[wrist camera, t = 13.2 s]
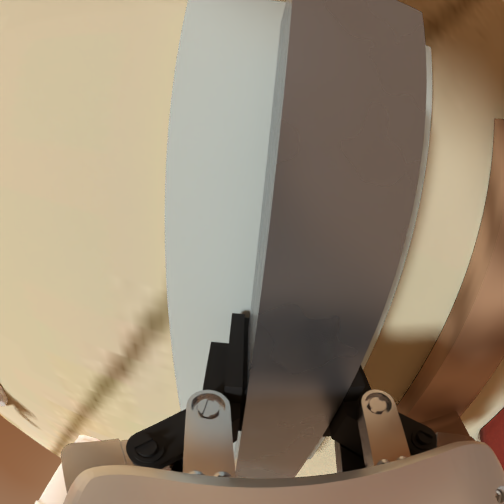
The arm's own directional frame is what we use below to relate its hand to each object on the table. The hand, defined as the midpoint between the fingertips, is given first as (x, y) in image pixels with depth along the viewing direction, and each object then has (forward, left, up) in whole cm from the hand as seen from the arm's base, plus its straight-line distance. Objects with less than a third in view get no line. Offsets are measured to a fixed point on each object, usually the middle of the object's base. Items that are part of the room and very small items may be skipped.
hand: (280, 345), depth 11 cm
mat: (0, 0, -1) cm, 1 cm away
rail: (0, 0, +1) cm, 1 cm away
